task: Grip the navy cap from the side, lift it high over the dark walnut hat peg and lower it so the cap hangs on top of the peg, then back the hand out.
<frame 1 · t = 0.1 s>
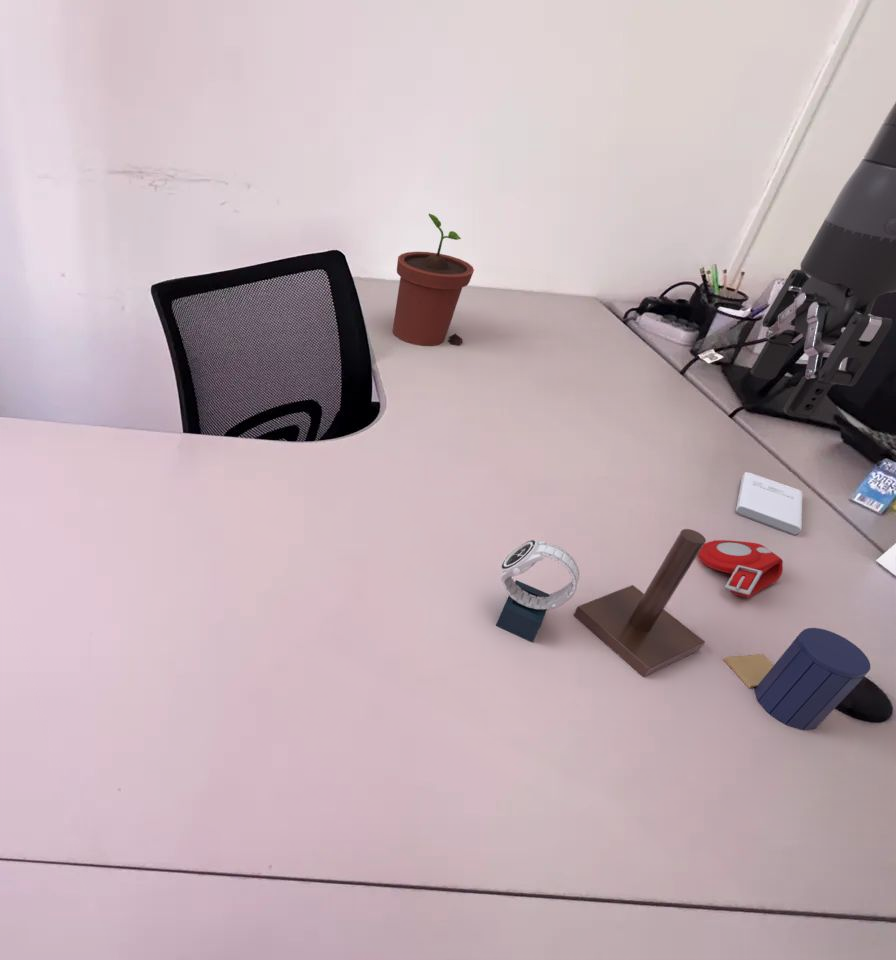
hand: (777, 395, 66), 30 cm above the table, tool pointing down, fingers open, 8 cm apart
cap: (786, 705, 73), on the table
watch: (518, 620, 80), on the table
hard drive: (766, 506, 105), on the table
tracker holder: (729, 575, 91), on the table
potted plant: (424, 332, 152), on the table
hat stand: (635, 632, 80), on the table
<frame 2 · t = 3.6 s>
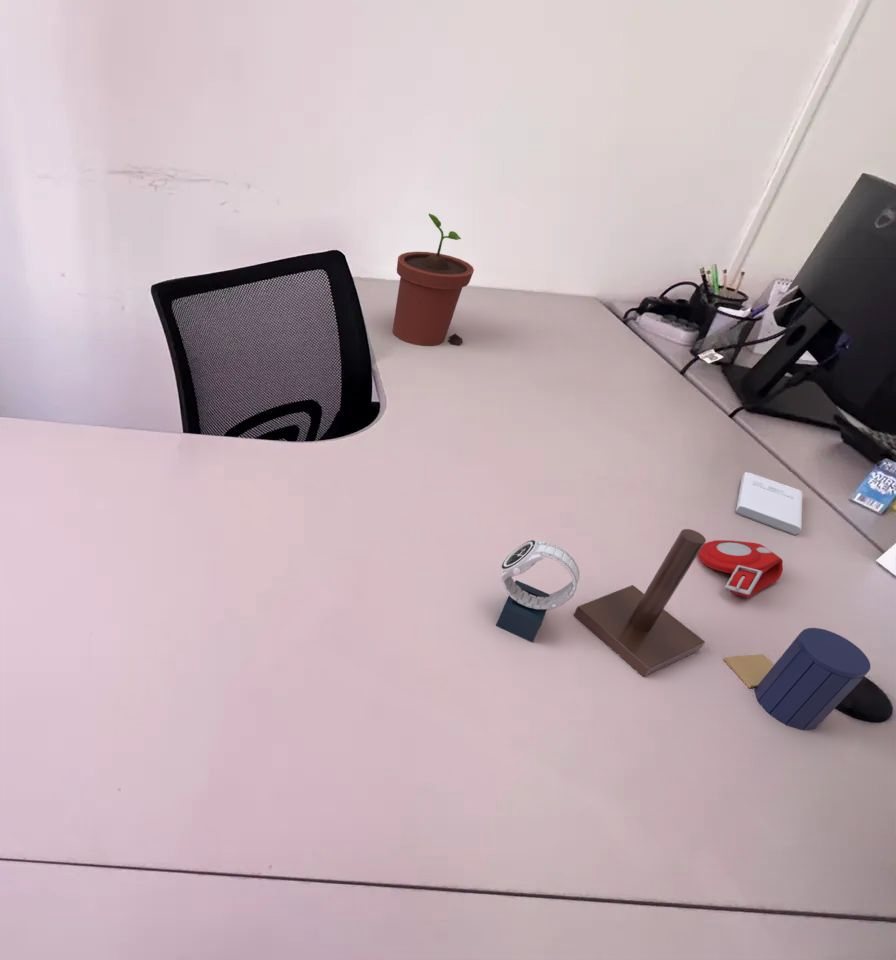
nothing on the table moved.
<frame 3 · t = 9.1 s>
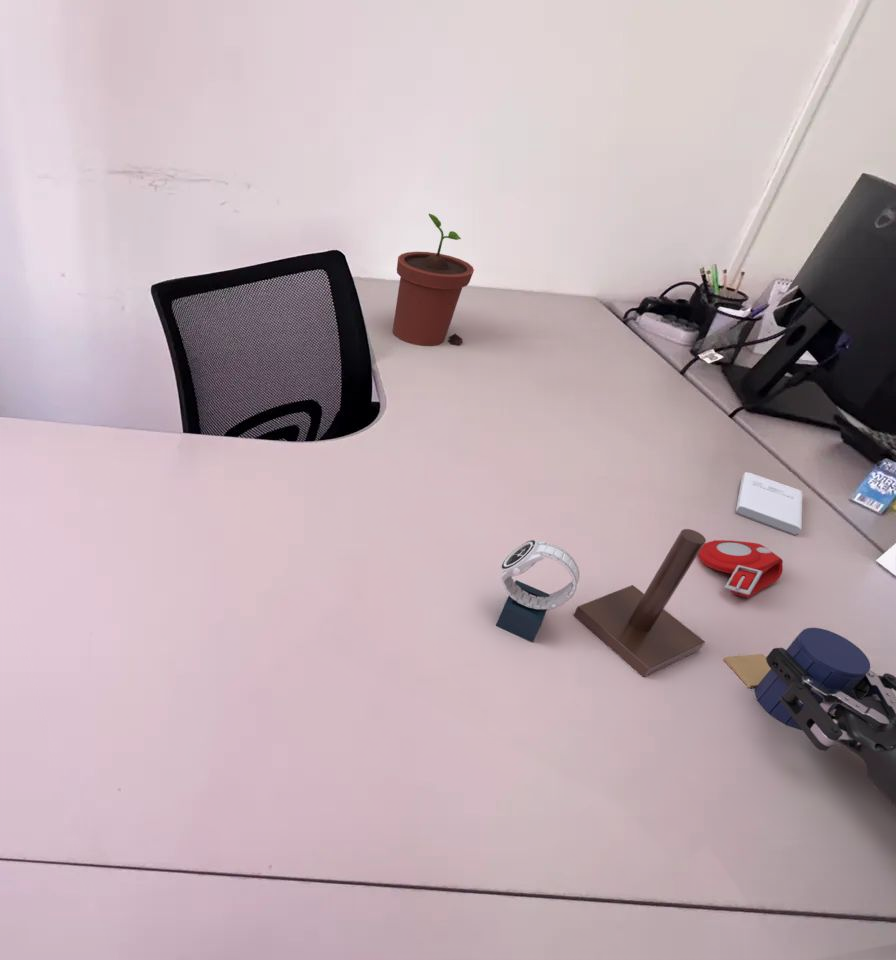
hand: (798, 651, 71), 6 cm above the table, tool horizontal, fingers closed on cap, 6 cm apart
cap: (786, 705, 73), on the table, touching gripper
everything else where it was.
when the fingers open (13 cm above the table, at t = 18.7 s): cap stays where it is, resting on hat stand.
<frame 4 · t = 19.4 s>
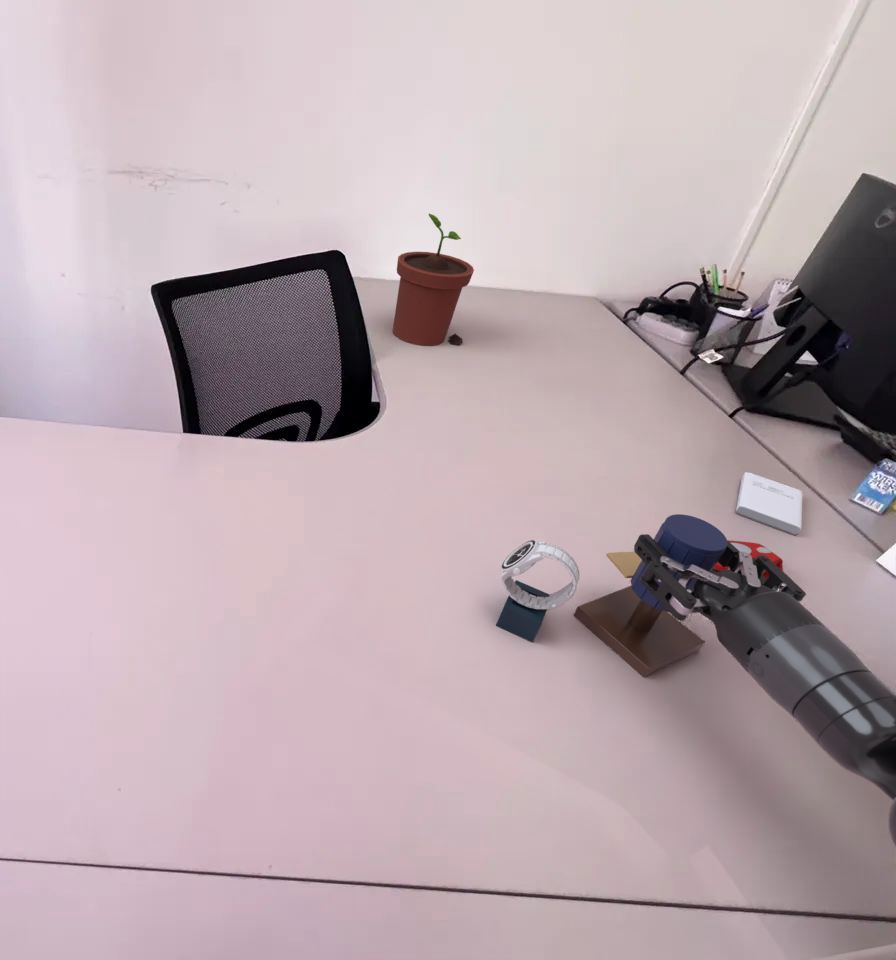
hand: (673, 538, 74), 13 cm above the table, tool horizontal, fingers open, 8 cm apart
cap: (659, 592, 76), point 7 cm above the table, touching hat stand
everything else where it was.
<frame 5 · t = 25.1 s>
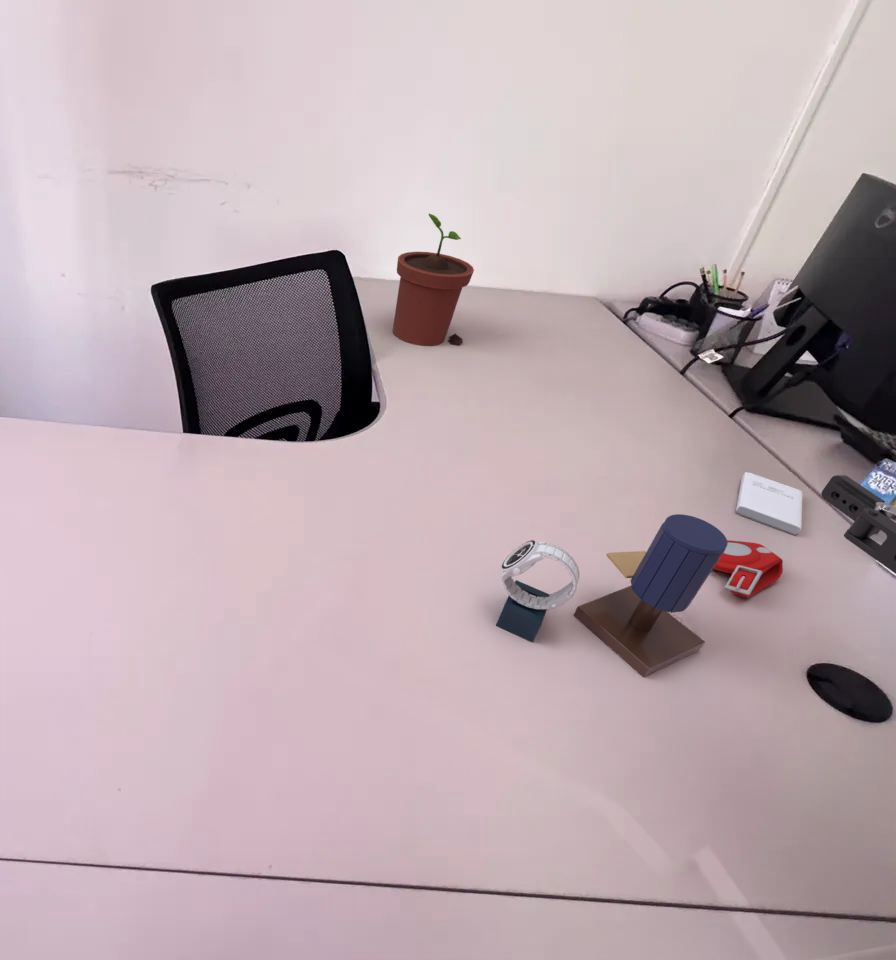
hand: (874, 482, 54), 30 cm above the table, tool horizontal, fingers open, 8 cm apart
nothing on the table moved.
at the end: cap 0.0 cm off-centre on the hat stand, point 6.6 cm above the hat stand's base; cap touching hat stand; the gripper is holding nothing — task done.
